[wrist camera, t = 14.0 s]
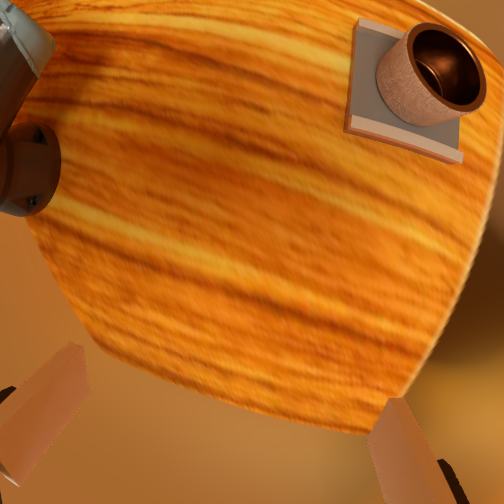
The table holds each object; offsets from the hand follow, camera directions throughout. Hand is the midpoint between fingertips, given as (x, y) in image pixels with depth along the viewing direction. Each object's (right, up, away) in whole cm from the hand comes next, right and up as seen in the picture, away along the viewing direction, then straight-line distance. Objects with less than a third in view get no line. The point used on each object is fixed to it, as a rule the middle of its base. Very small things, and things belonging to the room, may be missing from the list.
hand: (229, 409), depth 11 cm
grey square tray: (+21, +27, +20) cm, 40 cm away
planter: (+21, +27, +18) cm, 39 cm away
